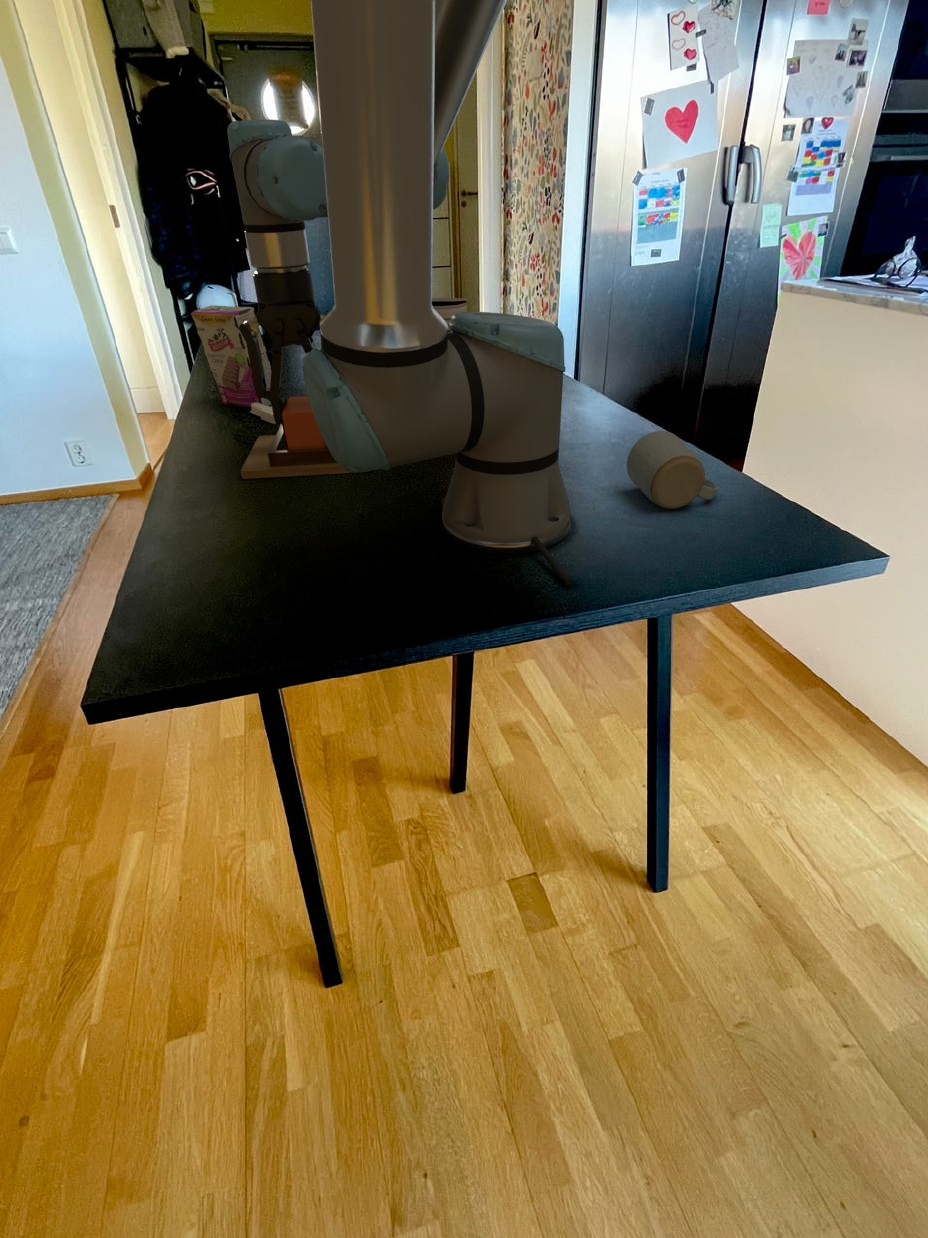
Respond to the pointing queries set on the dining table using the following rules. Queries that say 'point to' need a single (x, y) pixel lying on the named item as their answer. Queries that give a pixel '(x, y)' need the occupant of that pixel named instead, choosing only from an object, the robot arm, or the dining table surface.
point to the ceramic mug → (668, 471)
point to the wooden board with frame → (287, 460)
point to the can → (449, 307)
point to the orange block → (301, 425)
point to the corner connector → (263, 412)
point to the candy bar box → (230, 353)
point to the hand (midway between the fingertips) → (309, 442)
